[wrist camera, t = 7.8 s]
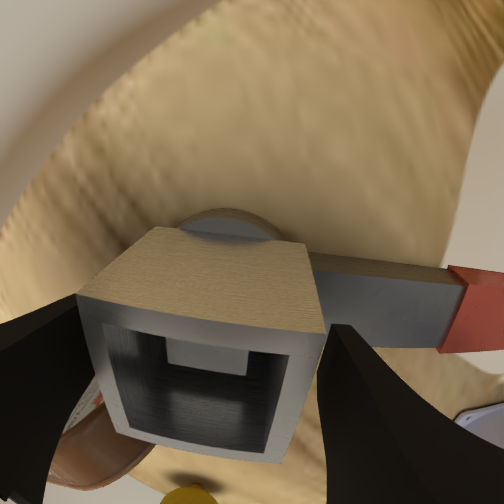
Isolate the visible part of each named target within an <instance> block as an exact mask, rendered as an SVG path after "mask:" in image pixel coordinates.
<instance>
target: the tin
mask: <svg viewBox="0 0 504 504" xmlns="http://www.w3.org/2000/svg"><path fill="white" fill-rule="evenodd" d="M155 445H156V444H154V443H150V442H147V441H143V440H140V439H136V438H133V437H130V436H127V435H123V434H120V433H117V432H116V430H115V427H114V425H113V422H112V420H111V417H110V415H109V412H108V409H107V407H106V404H105V401H104V398H103V396H102V393H101V390H100V387H99V384H98V381H97V377H96V375H95V377H94V378H93V380H92V381H91V383H90V384H89V386H88V388H87V389H86V391H85V392H84V394H83V395H82V397H81V399H80V400H79V402H78V403H77V405H76V407H75V408H74V410H73V412H72V413H71V415H70V417H69V419H68V421H67V423H66V426H65V428H64V430H63V433H62V435H61V437H60V440H59V442H58V445H57V448H56V451H55V454H54V457H53V460H52V463H51V466H50V470H49V474H48V478H47V481H46V482H49V483H53V484H56V485H60V486H64V487H69V488H72V489H77V490H83V491H87V490H94V489H98V488H101V487H104V486H106V485H109V484H111V483H112V482H114V481H116V480H117V479H120V478H121V477H122V476H123V475H125V474H127V473H128V472H130V471H131V470H132V469H133V468H134V467H135V466H137V465H138V464H139V463H140V462H141V461H142V460H143V459H144V458H145V457H146V456H147V455H148V454H149V453H150V452H151V450H152V449H153V448H154V447H155Z"/></svg>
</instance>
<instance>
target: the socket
mask: <svg viewBox="0 0 504 504" xmlns="http://www.w3.org/2000/svg"><path fill="white" fill-rule="evenodd" d="M76 299H77V304H78V309H79V313H80V318H81V322H82V327H83V331H84V335H85V339H86V343H87V347H88V350H89V354H90V357H91V361H92V364H93V368H94V371H95V374H96V377H97V381H98V384H99V387H100V390H101V393H102V396H103V398H104V401H105V404H106V407H107V409H108V412H109V415H110V417H111V420H112V422H113V425H114V427H115V430H116V432H117V433H120V434H123V435H127V436H130V437H133V438H136V439H140V440H143V441H147V442H150V443H154V444H158V445H162V446H166V447H170V448H174V449H179V450H183V451H188V452H193V453H198V454H203V455H209V456H215V457H221V458H228V459H236V460H244V461H253V462H264V463H277V464H281V463H282V460H283V458H284V455H285V453H286V450H287V448H288V445H289V443H290V440H291V438H292V435H293V433H294V430H295V427H296V425H297V422H298V419H299V417H300V414H301V411H302V408H303V406H304V403H305V400H306V397H307V394H308V391H309V388H310V385H311V382H312V379H313V376H314V373H315V370H316V367H317V364H318V360H319V357H320V354H321V351H322V347H323V344H324V341H325V337H326V329H325V324H324V320H323V315H322V311H321V307H320V302H319V298H318V294H317V289H316V285H315V281H314V277H313V273H312V269H311V265H310V261H309V257H308V253H307V249H306V245H305V244H302V243H295V242H287V241H279V240H270V239H262V238H254V237H246V236H237V235H229V234H220V233H212V232H203V231H195V230H186V229H177V228H168V227H159V226H156V227H154V228H153V229H152V230H150V231H149V232H148V233H147V234H145V235H144V236H143V237H142V238H140V239H139V240H138V241H137V242H135V243H134V244H133V245H132V246H131V247H129V248H128V249H127V250H126V251H124V252H123V253H122V254H121V255H120V256H118V257H117V258H116V259H115V260H114V261H113V262H111V263H110V264H109V265H108V266H107V267H105V268H104V269H103V270H102V271H101V272H100V273H98V274H97V275H96V276H95V277H94V278H93V279H92V280H90V281H89V282H88V283H87V284H86V285H85V286H84V287H83V288H81V289H80V290H79V291H78V292H77V293H76ZM166 337H168V338H173V339H179V340H184V341H190V342H196V343H201V344H208V345H214V346H220V347H227V348H234V349H242V350H249V356H248V363H247V370H246V376H244V375H237V374H229V373H223V372H216V371H210V370H204V369H198V368H192V367H186V366H181V365H176V364H171V363H168V356H167V345H166Z"/></svg>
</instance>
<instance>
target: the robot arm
mask: <svg viewBox="0 0 504 504" xmlns="http://www.w3.org/2000/svg"><path fill="white" fill-rule="evenodd" d="M95 375H96V374H95V371H94V368H93V364H92V361H91V357H90V354H89V350H88V347H87V343H86V339H85V335H84V331H83V327H82V322H81V318H80V313H79V309H78V304H77V299H76V293H75V294H72V295H70V296H67V297H65V298H63V299H60V300H58V301H56V302H53V303H51V304H49V305H47V306H44V307H42V308H40V309H37V310H35V311H33V312H30V313H28V314H25V315H23V316H20V317H18V318H15V319H13V320H10V321H8V322H5V323H2V324H0V498H1V499H2V500H3V501H7V499H8V498H10V499H11V500H12V501H14V502H15V503H17V504H42V503H43V497H44V491H45V486H46V481H47V478H48V474H49V470H50V466H51V463H52V460H53V457H54V454H55V451H56V448H57V445H58V442H59V440H60V437H61V435H62V433H63V430H64V428H65V426H66V423H67V421H68V419H69V417H70V415H71V413H72V412H73V410H74V408H75V407H76V405H77V403H78V402H79V400H80V399H81V397H82V395H83V394H84V392H85V391H86V389H87V388H88V386H89V384H90V383H91V381H92V380H93V378H94V377H95ZM317 401H318V408H319V415H320V422H321V428H322V435H323V442H324V449H325V456H326V467H327V504H504V403H501V404H497V405H493V406H489V407H485V408H480V409H476V410H471V411H466V412H463V413H461V414H460V415H459V416H458V417H457V419H456V420H455V421H452V420H451V419H449V418H448V417H446V416H445V415H443V414H442V413H441V412H439V411H438V410H437V409H435V408H434V407H433V406H432V405H430V404H429V403H428V402H427V401H425V400H424V399H423V398H422V397H421V396H419V395H418V394H417V393H416V392H415V391H414V390H413V389H412V388H410V387H409V386H408V385H407V384H406V383H405V382H404V381H403V380H402V379H401V378H400V377H399V376H398V375H397V374H396V373H395V372H394V371H393V370H392V369H391V368H390V367H389V366H388V365H387V364H386V363H385V362H384V361H383V360H382V358H381V357H380V356H379V355H378V354H377V353H376V352H375V351H374V350H373V349H372V348H371V346H370V345H369V344H368V343H367V342H366V341H365V340H364V339H363V338H362V336H361V335H360V334H359V333H358V332H357V331H356V330H355V329H354V328H353V327H352V326H351V325H346V324H333V323H331V326H330V330H329V333H328V337H327V340H326V344H325V347H324V350H323V354H322V357H321V360H320V363H319V367H318V370H317Z"/></svg>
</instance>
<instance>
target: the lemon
mask: <svg viewBox="0 0 504 504" xmlns="http://www.w3.org/2000/svg"><path fill="white" fill-rule="evenodd" d="M160 504H218V503H217V501H216V500H215V499H214V498H213V497H212V496H211V495H210V494H209V493H207V492H205V491H203V489H202V488H201V487H200V485H197V484H193V485H191V486H189V487H182V488H177V489H175V490H173V491H171V492H169V493H168V494H167V495H166V496H165V497H164V498H163V500H162V501H161V503H160Z"/></svg>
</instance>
